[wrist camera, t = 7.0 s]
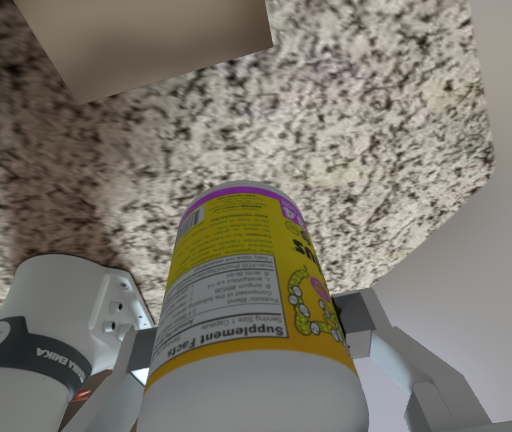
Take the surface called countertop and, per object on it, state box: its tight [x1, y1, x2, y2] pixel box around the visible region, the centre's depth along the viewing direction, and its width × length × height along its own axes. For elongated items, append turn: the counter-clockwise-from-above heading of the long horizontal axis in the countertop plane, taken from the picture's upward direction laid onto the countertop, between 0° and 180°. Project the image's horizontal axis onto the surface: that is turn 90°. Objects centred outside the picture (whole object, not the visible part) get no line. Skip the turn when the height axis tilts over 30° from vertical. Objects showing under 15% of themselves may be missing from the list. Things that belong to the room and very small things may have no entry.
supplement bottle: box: [137, 180, 369, 432], centre depth 11 cm, size 7×7×13 cm
